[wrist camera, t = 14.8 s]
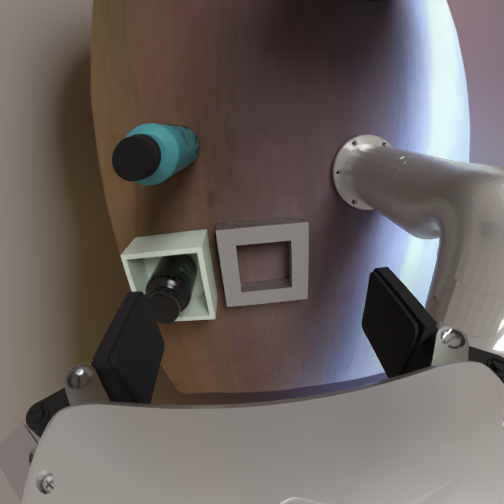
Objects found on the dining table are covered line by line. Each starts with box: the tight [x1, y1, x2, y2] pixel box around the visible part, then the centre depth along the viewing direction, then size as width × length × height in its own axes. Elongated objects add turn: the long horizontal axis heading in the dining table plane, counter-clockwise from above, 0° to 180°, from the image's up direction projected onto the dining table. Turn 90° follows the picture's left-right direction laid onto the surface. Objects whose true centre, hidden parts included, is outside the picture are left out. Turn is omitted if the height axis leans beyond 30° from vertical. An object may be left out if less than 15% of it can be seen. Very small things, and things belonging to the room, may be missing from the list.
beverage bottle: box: [112, 123, 200, 185], centre depth 28 cm, size 6×7×20 cm
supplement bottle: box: [145, 254, 197, 324], centre depth 40 cm, size 7×7×12 cm
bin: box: [121, 229, 218, 322], centre depth 43 cm, size 13×13×7 cm
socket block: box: [216, 216, 309, 307], centre depth 45 cm, size 14×14×3 cm
